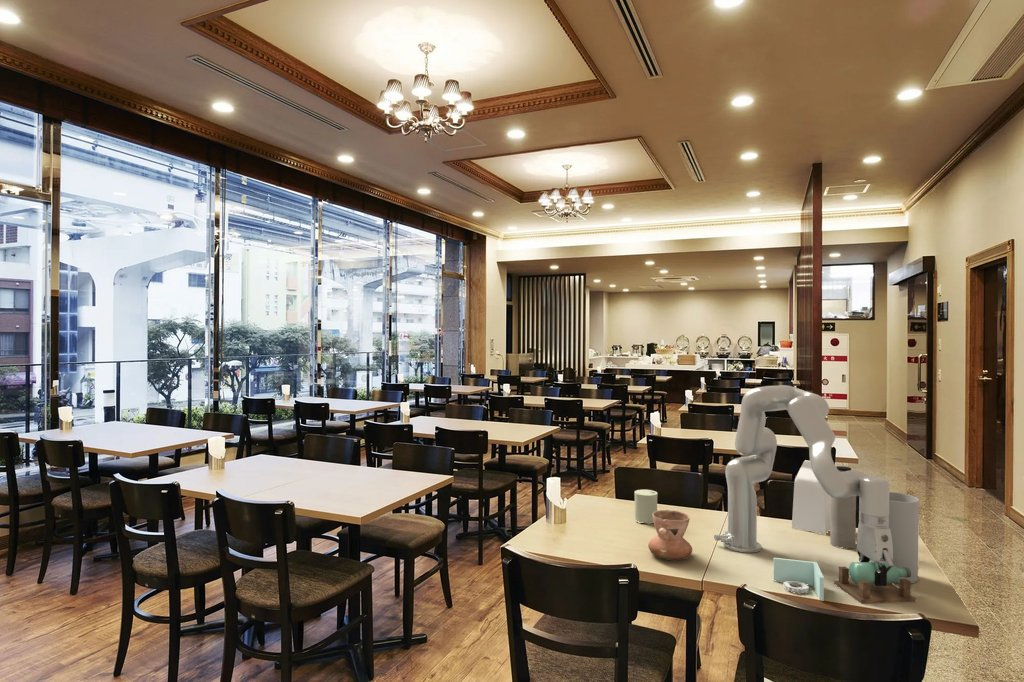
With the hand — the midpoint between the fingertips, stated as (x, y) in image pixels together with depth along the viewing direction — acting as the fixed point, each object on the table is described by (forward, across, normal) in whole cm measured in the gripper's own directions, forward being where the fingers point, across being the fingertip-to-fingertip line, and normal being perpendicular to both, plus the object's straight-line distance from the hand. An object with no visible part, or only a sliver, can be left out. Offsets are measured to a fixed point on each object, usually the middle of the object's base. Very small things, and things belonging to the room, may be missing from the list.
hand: (873, 580), depth 177 cm
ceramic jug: (+4, +32, +50) cm, 59 cm away
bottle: (+1, 0, -3) cm, 3 cm away
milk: (+4, +58, -15) cm, 60 cm away
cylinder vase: (+4, +11, -14) cm, 18 cm away
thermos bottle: (+4, +39, -15) cm, 42 cm away
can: (+4, +70, +48) cm, 85 cm away
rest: (+4, 0, 0) cm, 4 cm away
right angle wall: (+4, +2, +21) cm, 22 cm away
